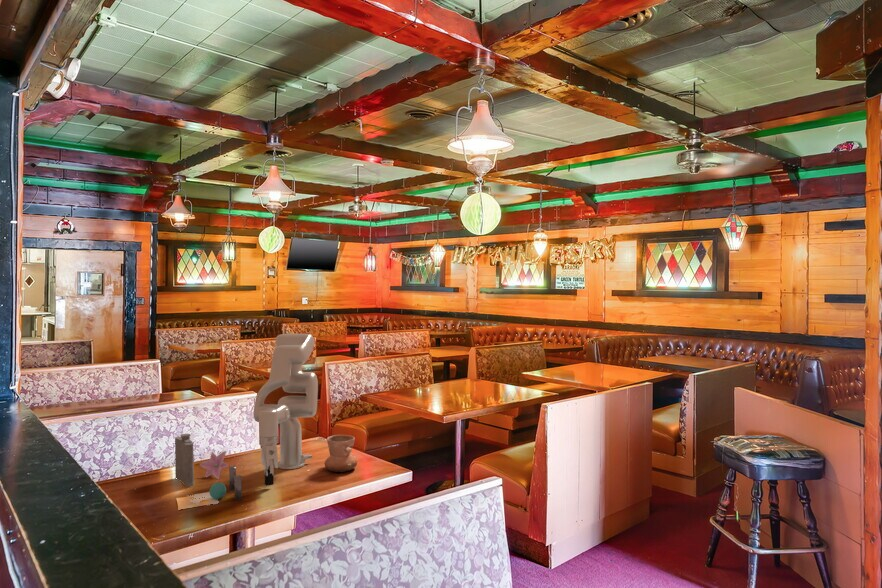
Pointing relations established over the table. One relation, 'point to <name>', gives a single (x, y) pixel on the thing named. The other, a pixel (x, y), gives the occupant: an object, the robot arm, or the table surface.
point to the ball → (217, 490)
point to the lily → (214, 464)
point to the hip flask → (184, 460)
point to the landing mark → (207, 497)
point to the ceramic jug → (340, 453)
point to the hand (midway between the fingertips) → (269, 484)
